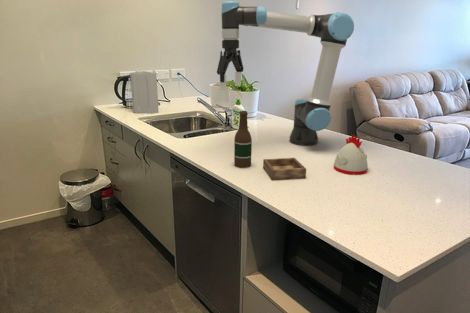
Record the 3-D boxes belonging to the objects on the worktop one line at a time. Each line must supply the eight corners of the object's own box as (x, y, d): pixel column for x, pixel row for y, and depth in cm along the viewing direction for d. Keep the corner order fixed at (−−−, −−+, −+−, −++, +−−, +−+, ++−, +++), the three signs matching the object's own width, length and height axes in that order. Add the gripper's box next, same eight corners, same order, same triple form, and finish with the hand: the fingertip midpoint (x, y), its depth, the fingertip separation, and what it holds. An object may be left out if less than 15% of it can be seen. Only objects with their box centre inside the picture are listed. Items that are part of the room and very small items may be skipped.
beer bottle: (253, 163, 162) (255, 110, 154) (248, 169, 155) (249, 113, 147) (237, 161, 164) (237, 109, 156) (231, 166, 157) (231, 112, 149)
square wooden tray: (293, 166, 158) (294, 157, 157) (305, 178, 145) (306, 168, 144) (263, 168, 156) (263, 159, 155) (272, 180, 143) (272, 170, 142)
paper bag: (128, 111, 266) (124, 72, 257) (146, 108, 276) (143, 71, 266) (140, 115, 253) (137, 74, 244) (159, 112, 262) (156, 73, 253)
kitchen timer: (349, 177, 147) (354, 142, 142) (326, 166, 159) (330, 133, 154) (374, 171, 153) (379, 137, 148) (350, 162, 165) (354, 130, 160)
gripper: (236, 38, 171) (236, 84, 178) (207, 39, 151) (209, 90, 158) (250, 38, 168) (250, 85, 175) (223, 39, 147) (224, 91, 154)
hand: (230, 87), depth 166 cm, fingers open, 13 cm apart
